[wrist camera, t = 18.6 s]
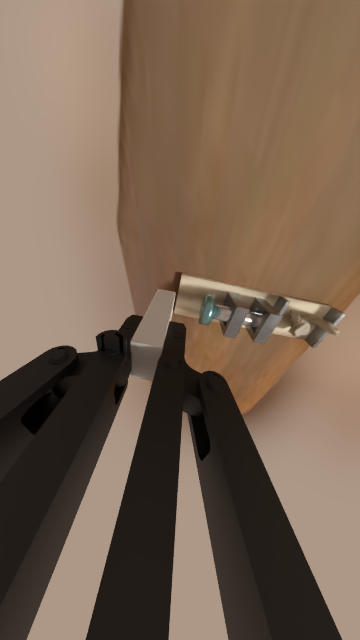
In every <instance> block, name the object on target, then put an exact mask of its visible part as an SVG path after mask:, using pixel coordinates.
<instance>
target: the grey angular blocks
mask: <svg viewBox="0 0 360 640" xmlns="http://www.w3.org/2000/svg"><path fill="white" fill-rule="evenodd" d="M289 304H290V301H288V300H287V299H286V298H284V297H282V296H280V297H279V298H278V300H277V302H276V303H275V305H274V307H273V306H272V305H271V304H269V303H268V302H267V301H266V300H265V299H261V298H256V297H255V298H254V300H253V302H252V304H251V306H250V308H248V306H247V305H246V303H245V302H244V301H243V299H242V298H241V296H240V295H239V294H238V293H233V292H228V293H227V295H226V298H225V300H224V303H223V305H222V306H227V307H231V308H232V310H233V311H232V313H231V315H230V317H229V320H228V322H225V321H221V320H219V322H220V325H221V329H222V332H223V335H224V336H226V337H231V338H236V336H237V334H238V332H239V330H240V328H241V326H242V324H243V322H244V320H245V318H246V316H247V314H248V313H249V311H251V312H255V313H260V314H262V315H263V316H264V318H263V319H262V321H261V323H260V325H259V326H258V328H255V327H250V326H245V325H244V326H245V328H246V329H247V331H248V333H249V335H250V337H251V339H252V340H253V342H256V343H261V344H265V343H266V341H267V340H268V338H269V337H270V335H271V334H272V332H273V331H274V329H275V328H276V326H277V325H278V323H279V322H280V320H281V319H282V317H283V316H282V315H283V313H284V312H285V310H286V309H287V307H288V306H289ZM345 315H346V314H345V313H343V312H341V311H339V310H338V309H336V308H333V307H332V308H331V309H330V310H329V311H328V312H327V313H326V315H325V316H324V317H323V318H322V319H323V320H325V321H327V322H330V323H332V324H333V325H334V326H336V325H337V324H338V323H339V322H340V321H341V319H342V318H343V317H344V316H345ZM328 334H329V333H328V332H326V331H324V330H323V329H322V328H320V327H319V326H318V325H316V327H315V328H314V329H313V330H312V331H311V333H310V334H309V335H308V336H307V337H306V339H305V341H306V342H307V343H308V344H309V345H310V346H311V347H313V348H316V347H317V345H318V344H319V343H320V342H321V341H322V340H323V339H324V338H325V337H326V336H327V335H328Z"/></svg>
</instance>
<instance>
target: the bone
mask: <svg viewBox="0 0 360 640" xmlns="http://www.w3.org/2000/svg"><path fill="white" fill-rule="evenodd" d="M290 312H291V314H290V320H292V321H293V325H292V326H291V328H290V330H289V331H288V332H289V333H291V334H292V336H293V337H294V336H296V337H298V336H300V335H307V334H308V333H309V330H310V324H309V322H312V323H315V324H317V325H318V326H319V327H320V328H322V329H323V330H324V331H326V332H328V333H331V334H333V335H336V334H339V332H340V331H339V330H338V329H337V328H336V327H335V326H334V325H333V324H332V323H330V322H327V321H325V320H323V319H322V318H321V317H318V316H316V315H313V314H310V315H306V316H301V317H300V314H299V313H297V312H293V311H292V310H290Z"/></svg>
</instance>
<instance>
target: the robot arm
mask: <svg viewBox="0 0 360 640" xmlns="http://www.w3.org/2000/svg"><path fill="white" fill-rule="evenodd" d="M175 295H176V292H172V291H167V290H162V289H158V290H157V292H156V294H155V296H154V298H153V300H152V302H151V303H150V305H149V307H148V309H147V311H146V313H145V315H144V317H143V316H137V315H131V316H130V317H128V318H127V319H126V320H125V322H124V324H123V325H122V326H121V328H120V329H119V330H108V331H104V332H102V333H100V334H98V335H97V336H96V341H97V346H98V351H96V352H87V353H77V351H76V349H75V348H73V347H71V346H58V347H55V348H52V349H50V350H48V351H46V352H44V353H43V354H41V355H40V356H38V357H37V358H36V359H34V360H32V361H31V362H29V363H27V364H26V365H24V366H23V367H21V368H19V369H18V370H17V371H15V372H13V373H12V374H10V375H9V376H7V377H6V378H4V379H2V380H1V381H0V640H26V639H27V637H28V634H29V632H30V629H31V627H32V624H33V622H34V619H35V617H36V614H37V612H38V609H39V607H40V604H41V601H42V599H43V596H44V594H45V591H46V589H47V587H48V584H49V581H50V579H51V576H52V574H53V571H54V569H55V566H56V564H57V561H58V559H59V556H60V554H61V551H62V549H63V546H64V544H65V541H66V539H67V536H68V534H69V531H70V529H71V526H72V524H73V521H74V519H75V516H76V514H77V511H78V509H79V506H80V504H81V501H82V499H83V496H84V494H85V491H86V488H87V486H88V484H89V481H90V479H91V476H92V474H93V471H94V469H95V466H96V464H97V461H98V459H99V456H100V454H101V451H102V449H103V446H104V443H105V441H106V438H107V436H108V433H109V431H110V428H111V426H112V423H113V421H114V418H115V416H116V413H117V411H118V408H119V406H120V403H121V401H122V398H123V396H124V393H125V391H126V388H127V385H128V377H129V375H130V373H131V377H134V378H140V379H146V380H151V381H153V382H152V386H151V390H150V394H149V398H148V401H147V405H146V409H145V413H144V417H143V421H142V425H141V429H140V433H139V436H138V440H137V444H136V448H135V452H134V456H133V459H132V463H131V467H130V471H129V475H128V479H127V483H126V486H125V490H124V494H123V498H122V502H121V506H120V510H119V514H118V517H117V521H116V525H115V529H114V533H113V537H112V541H111V544H110V548H109V552H108V556H107V560H106V564H105V568H104V572H103V575H102V579H101V583H100V587H99V591H98V594H97V598H96V603H95V606H94V610H93V614H92V618H91V621H90V626H89V629H88V633H87V637H86V640H168V637H169V620H170V605H171V589H172V573H173V557H174V540H175V524H176V508H177V492H178V476H179V459H180V443H181V427H182V411H184V412H186V413H187V414H188V420H189V425H190V431H191V436H192V441H193V446H194V453H195V458H196V464H197V468H198V475H199V480H200V485H201V491H202V496H203V502H204V508H205V512H206V518H207V524H208V529H209V535H210V540H211V546H212V551H213V557H214V562H215V568H216V573H217V579H218V584H219V589H220V595H221V601H222V606H223V612H224V617H225V623H226V628H227V634H228V639H229V640H342V638H341V636H340V634H339V632H338V629H337V627H336V625H335V623H334V620H333V618H332V616H331V614H330V612H329V609H328V607H327V605H326V603H325V600H324V598H323V596H322V594H321V592H320V589H319V587H318V585H317V583H316V580H315V578H314V576H313V574H312V571H311V569H310V567H309V565H308V563H307V560H306V558H305V556H304V553H303V551H302V549H301V547H300V545H299V543H298V540H297V538H296V536H295V534H294V531H293V529H292V527H291V525H290V522H289V520H288V518H287V515H286V513H285V511H284V509H283V507H282V504H281V502H280V500H279V498H278V495H277V493H276V491H275V489H274V487H273V485H272V482H271V480H270V477H269V475H268V473H267V471H266V469H265V466H264V464H263V462H262V460H261V457H260V455H259V454H258V451H257V449H256V446H255V444H254V442H253V440H252V437H251V435H250V433H249V431H248V428H247V426H246V424H245V422H244V420H243V417H242V415H241V413H240V410H239V408H238V406H237V404H236V401H235V399H234V397H233V395H232V393H231V390H230V388H229V386H228V384H227V382H226V380H225V379H224V378H223V377H222V376H221V375H220V374H218V373H216V372H214V371H206V372H204V373H202V374H201V373H199V372H197V371H195V370H193V369H192V368H190V367H189V366H188V365H187V363H186V361H185V358H184V354H185V339H186V327H185V325H184V324H182V323H177V322H172V321H171V318H172V312H173V306H174V301H175Z"/></svg>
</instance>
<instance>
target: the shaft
mask: <svg viewBox="0 0 360 640" xmlns="http://www.w3.org/2000/svg"><path fill="white" fill-rule="evenodd" d="M232 311H233V310H232V308H231V307H227V306H222V305H217V304H215V297H214V296H212V295H207V294H206V295H205V296H204V298H203V301H202V304H201V308H200V313H199V324H203V325H209V323H210V322H211V319H216V320H221V321H225V322H228V320H229V317H230V315H231V313H232ZM263 318H264V316H263V315H262V314H260V313H255V312H251V311H249V313H248V314H247V316H246V318H245V320H244V322H243V324H242V325H245V326H250V327H255V328H258V326H259V325H260V323H261V321H262V319H263Z"/></svg>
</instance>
